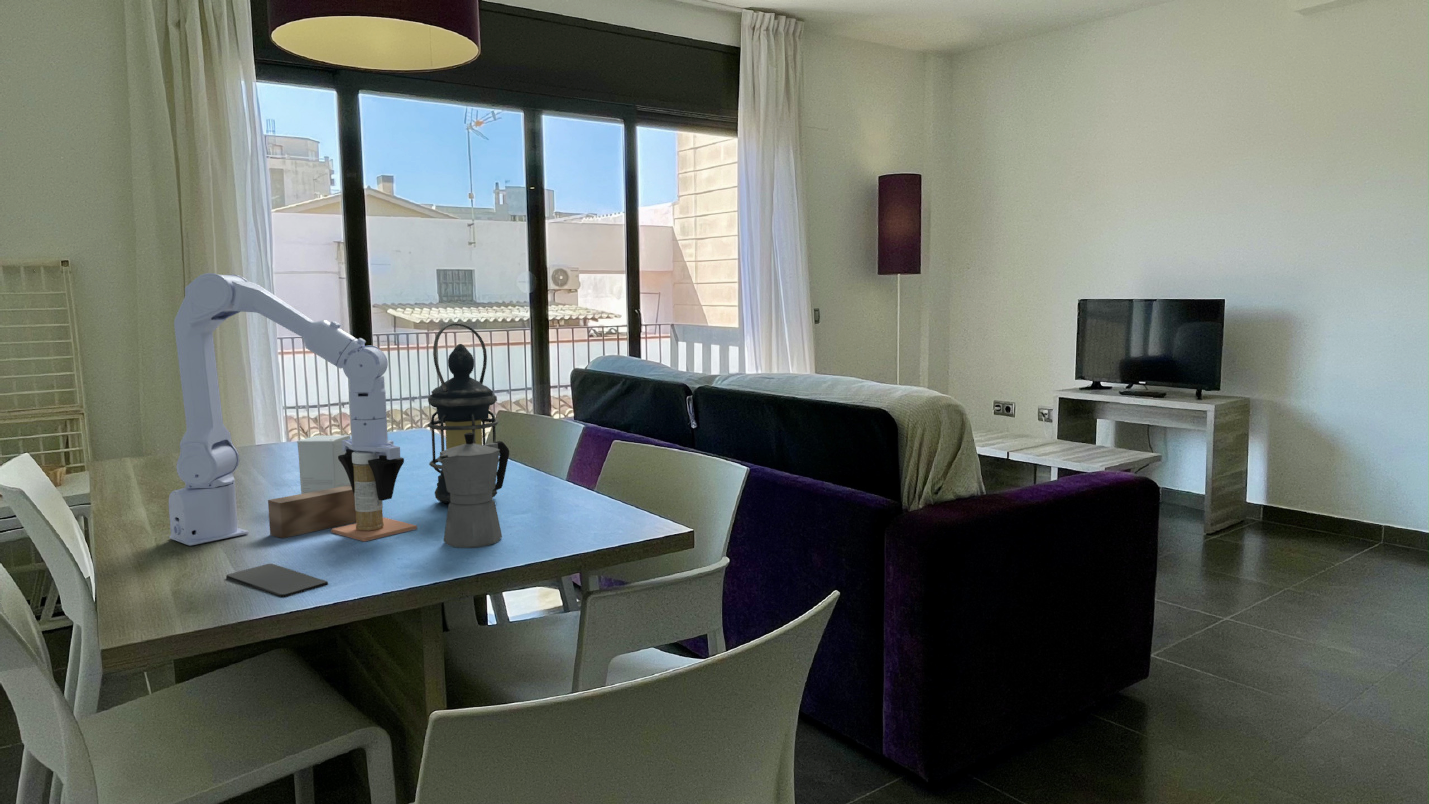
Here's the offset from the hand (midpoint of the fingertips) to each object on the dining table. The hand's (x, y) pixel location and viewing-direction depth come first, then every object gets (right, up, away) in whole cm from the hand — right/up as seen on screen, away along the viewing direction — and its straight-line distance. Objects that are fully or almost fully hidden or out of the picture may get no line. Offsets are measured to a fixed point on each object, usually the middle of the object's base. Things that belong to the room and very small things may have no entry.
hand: (372, 496), depth 152 cm
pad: (0, -6, +1) cm, 6 cm away
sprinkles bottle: (0, -6, 0) cm, 6 cm away
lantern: (+10, -4, +22) cm, 24 cm away
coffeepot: (+19, -7, -5) cm, 21 cm away
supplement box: (-18, -4, +24) cm, 31 cm away
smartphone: (-3, -10, -27) cm, 29 cm away
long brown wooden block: (-10, -6, +4) cm, 12 cm away
